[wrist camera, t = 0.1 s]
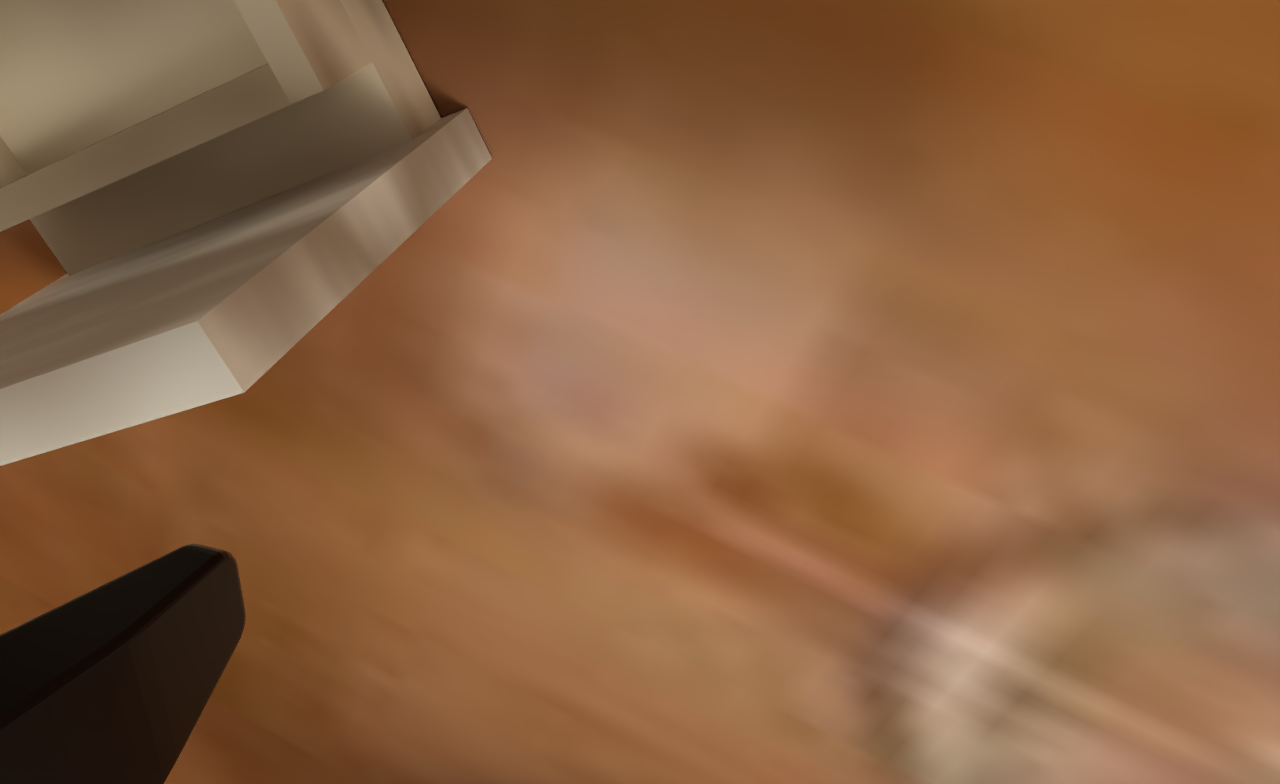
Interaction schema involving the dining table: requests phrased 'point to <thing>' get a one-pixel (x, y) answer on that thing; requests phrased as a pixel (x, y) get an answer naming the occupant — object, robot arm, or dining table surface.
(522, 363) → the dining table surface
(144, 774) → the robot arm
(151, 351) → the drawer
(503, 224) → the dining table surface
